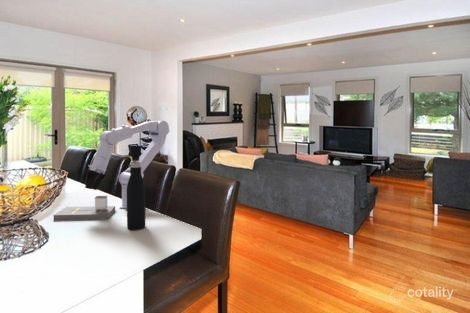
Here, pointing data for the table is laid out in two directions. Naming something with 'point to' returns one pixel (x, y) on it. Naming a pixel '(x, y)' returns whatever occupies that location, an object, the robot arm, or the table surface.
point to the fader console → (83, 213)
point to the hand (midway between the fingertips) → (90, 189)
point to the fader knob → (101, 203)
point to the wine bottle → (135, 193)
